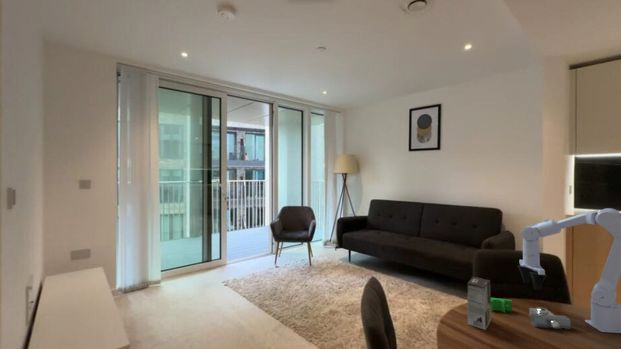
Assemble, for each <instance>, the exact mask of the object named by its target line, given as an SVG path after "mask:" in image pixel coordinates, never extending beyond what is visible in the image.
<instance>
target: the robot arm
mask: <svg viewBox="0 0 621 349" xmlns="http://www.w3.org/2000/svg"><path fill="white" fill-rule="evenodd" d="M582 224H588V225H589V224H590V225H593V226H594V225H596V224H598V226H600V227H602V228H603V229H606V231H608V233H610V234H611V235H612V236H613V239H614V240H613V242H612V245H611V247H610V250H609V253H608V256H607V258H606V261H605V264H604V267H603V270H602V273H601V276H600V279H599V281H598V282H597V283H595V284H594V285H593V289H592V290H591V292H590V297H591V298H590V319H585V320H584V322H585V323H587V324H588V325H590V326H591V327H593V328H594V329H596V330H597V331H599V332H602V333H613V334H615V333H616V334H621V303H617V301H616V299H617V296H618V291H617V286H618V282H619V280H620V277H621V212H620V211H618V210H617V209H615V208H610V207H609V208H608V207H607V208H603V209H601V210H600V209H597V210H591V211H587V212H582V213H579V214H577V215H573V216H569V217H567V218H564V219H560V220H555V219H549V218H547V219H544V221H541V222H539V223H532V224H531V225H528V226H525V227H524V228H523V227H522V229H521V231H520V235H521V237H522V259H519V265H517V268H518V270H519V272H520V275H521V279H522V281H523V283H524V284H531V280H532V287H533V289H534V290H535V291H541V289H542V285H543V283H544V282H545V279H546V278H547V277H548V274H547V273H546V270H545V269H544V268H543V267H542V266H541V262H540V261H541V260H540V259H541V257H540V253H541V252H540V238H545V237H548V236H553V235H558V234H560V233H561V231H562V229H566V228H570V227H574V226H578V225H582Z"/></svg>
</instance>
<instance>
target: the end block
mask: <svg viewBox="0 0 621 349" xmlns="http://www.w3.org/2000/svg"><path fill="white" fill-rule="evenodd" d="M529 317H530V324H531V326H533V327H534V328H546V329H547V328H550V329H555V330H557V329H562V328H565V330H571V325H572V324H571V319H570V318H569V317H567V316H566V315H557V314H554V315H538V314H529Z"/></svg>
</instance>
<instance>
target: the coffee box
mask: <svg viewBox="0 0 621 349" xmlns="http://www.w3.org/2000/svg"><path fill="white" fill-rule="evenodd" d="M466 284H467V286H466V287H467V288H466V289H467V291H466V292H467V325H469V326H472V327H475V328H477V329H478V328H479V329H482V330H484V331H486V330H487V328H488V327H489V325H490V323H491V321H492V311H491V298H492V296H491V280H490V279H484V278H481V277H478V276H477V277H475V276H472V277H471V279H470V280H469V281H468V282H467V283H466Z"/></svg>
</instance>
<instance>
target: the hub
mask: <svg viewBox="0 0 621 349" xmlns="http://www.w3.org/2000/svg"><path fill="white" fill-rule="evenodd" d="M528 310H529V311H528V312H529V315H530V314H538V315H555V314H554V313H553V312H551V311H549V309H547V308H545V307H539V306H538V307H536V308H535V307H529V308H528Z"/></svg>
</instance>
